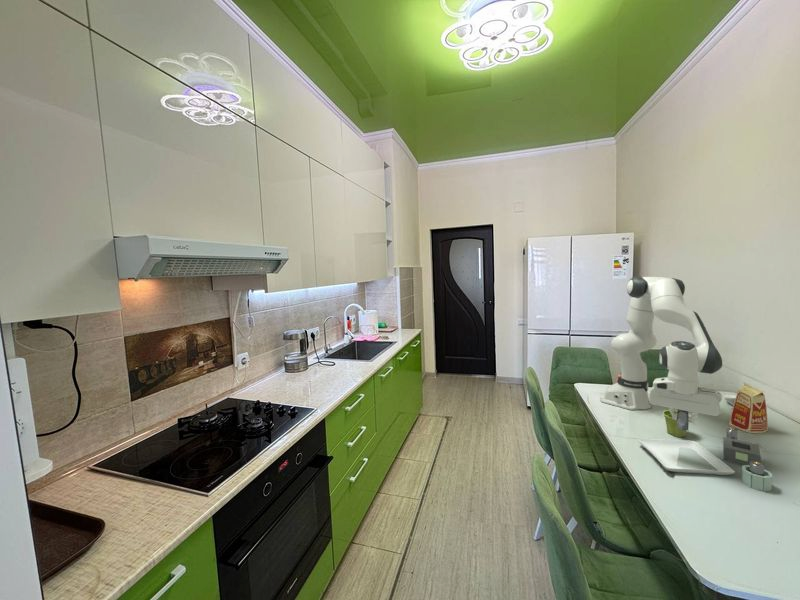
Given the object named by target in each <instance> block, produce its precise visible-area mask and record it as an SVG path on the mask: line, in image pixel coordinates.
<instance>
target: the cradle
mask: <svg viewBox="0 0 800 600" xmlns="http://www.w3.org/2000/svg"><path fill="white" fill-rule="evenodd" d="M722 440H723V441H722V451H723V452H722V455H723V456H722V457H723V462H728V463H733V464H737V465H740V466H743V465H750V462H751V461H754V462H759V463H761V461H762V460H761V458H762V457H761V456H762V455H761V450H760V446H759V443H753V442H750V441H744V440H740V439H738V440H736V439H731V438H727V437H726V436H723V438H722Z"/></svg>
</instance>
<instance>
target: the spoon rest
mask: <svg viewBox="0 0 800 600" xmlns="http://www.w3.org/2000/svg"><path fill="white" fill-rule="evenodd" d="M736 395H737V394H735V395H734V394H725V395H723V398H724V400H725V401H726V402H727V403H729V404H730V405H731V406H733V405H734V401H735V398H736Z"/></svg>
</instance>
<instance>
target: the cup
mask: <svg viewBox="0 0 800 600" xmlns="http://www.w3.org/2000/svg"><path fill="white" fill-rule="evenodd" d="M741 483H743V484H744V485H746V486H748V487H749V488H751V489H754V490H758V491H761V492H771V491H773V473H771V471H768V470H767V469H765V468H764V476H760V475H756V474H753V473H751V472H750V465H741Z"/></svg>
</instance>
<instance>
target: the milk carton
mask: <svg viewBox="0 0 800 600" xmlns="http://www.w3.org/2000/svg"><path fill="white" fill-rule="evenodd" d="M742 383H743V386H741V387H740V388H738V390H737V393H736V394H735V395H736V398H735V401H734V405H732V409H731V412H730V417H729V423H728V425H729V426H731V427H732V428H734V429H737V430H739V431H743V432H746V433H749V434H765V433H766V432H768V430H769V427H768V426H769V424H768V421H769V420H768V409H767V403H766V402H767V401H766V395H765V394H764V393H766V391H765V390H761V389H759V388H757V387H754V386H752V385H751V384H749V383H746V382H742Z"/></svg>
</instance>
